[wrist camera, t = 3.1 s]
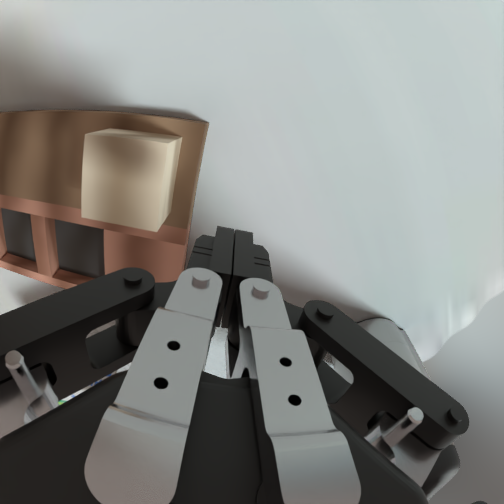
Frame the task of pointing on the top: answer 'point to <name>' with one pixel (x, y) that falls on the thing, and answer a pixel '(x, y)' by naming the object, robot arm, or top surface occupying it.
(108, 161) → the birch block
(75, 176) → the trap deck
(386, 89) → the top surface
